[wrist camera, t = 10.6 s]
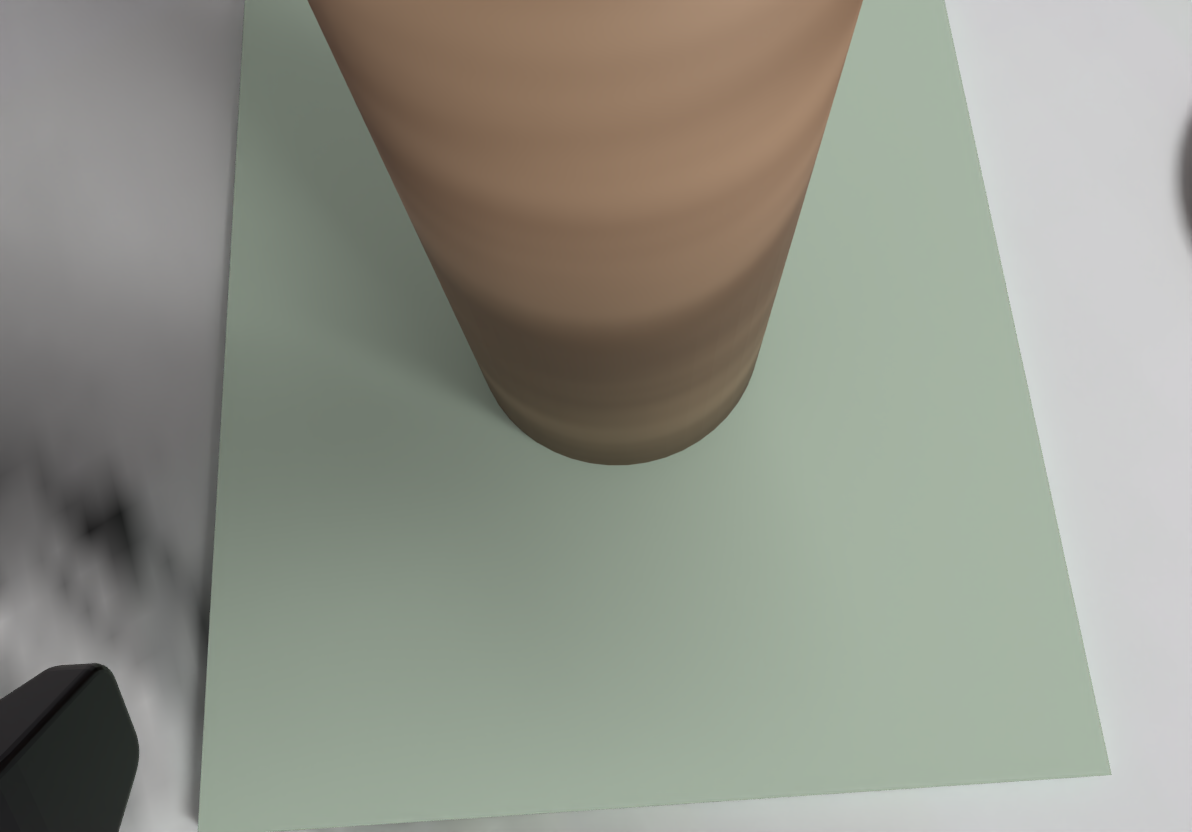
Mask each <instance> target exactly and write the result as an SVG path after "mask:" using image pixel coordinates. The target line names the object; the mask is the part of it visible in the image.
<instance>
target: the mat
mask: <svg viewBox="0 0 1192 832" xmlns="http://www.w3.org/2000/svg"><path fill="white" fill-rule="evenodd" d="M1103 775H1112V774H1111V769H1110V765H1109V760H1108V756H1107V751H1106V746H1105V742H1104V737H1103V732H1102V728H1101V723H1100V719H1099V714H1098V709H1097V705H1096V700H1095V695H1094V691H1093V686H1092V682H1091V677H1090V672H1089V668H1088V663H1087V658H1086V654H1085V649H1084V645H1083V640H1082V635H1081V631H1080V626H1079V621H1078V617H1077V612H1076V607H1075V603H1074V598H1073V594H1072V589H1071V584H1070V580H1069V575H1068V570H1067V566H1066V561H1065V557H1064V552H1063V547H1062V543H1061V538H1060V533H1059V529H1058V524H1057V520H1056V515H1055V510H1054V506H1053V501H1052V496H1051V492H1050V487H1049V482H1048V478H1047V473H1046V469H1045V464H1044V459H1043V455H1042V450H1041V445H1040V441H1039V436H1038V432H1037V427H1036V422H1035V418H1034V413H1033V408H1032V404H1031V399H1030V395H1029V390H1028V385H1027V381H1026V376H1025V371H1024V367H1023V362H1022V358H1021V353H1020V348H1019V344H1018V339H1017V334H1016V330H1015V325H1014V320H1013V316H1012V311H1011V307H1010V302H1009V297H1008V293H1007V288H1006V283H1005V279H1004V274H1003V270H1002V265H1001V260H1000V256H999V251H998V246H997V242H996V237H995V233H994V228H993V223H992V219H991V214H990V209H989V205H988V200H987V196H986V191H985V186H984V182H983V177H982V172H981V168H980V163H979V158H978V154H977V149H976V145H975V140H974V135H973V131H972V126H971V121H970V117H969V112H968V108H967V103H966V98H965V94H964V89H963V84H962V80H961V75H960V71H959V66H958V61H957V57H956V52H955V47H954V43H953V38H952V33H951V29H950V24H949V20H948V15H947V10H946V6H945V1H944V0H863V2H862V6H861V9H860V12H859V16H858V19H857V23H856V26H855V29H854V33H853V36H852V39H851V43H850V46H849V50H848V53H847V56H846V60H845V63H844V67H843V70H842V73H841V77H840V80H839V84H838V87H837V90H836V94H835V97H834V100H833V104H832V107H831V111H830V114H829V117H828V121H827V124H826V128H825V131H824V134H823V138H822V141H821V144H820V148H819V151H818V155H817V158H816V161H815V165H814V168H813V172H812V175H811V178H810V182H809V185H808V188H807V192H806V195H805V199H804V202H803V205H802V209H801V212H800V216H799V219H798V222H797V226H796V229H795V233H794V236H793V239H792V243H791V246H790V249H789V253H788V256H787V260H786V263H785V266H784V270H783V273H782V277H781V280H780V283H779V287H778V290H777V293H776V297H775V300H774V304H773V307H772V310H771V314H770V317H769V321H768V324H767V327H766V331H765V334H764V337H763V341H762V344H761V348H760V351H759V354H758V358H757V361H756V365H755V368H754V371H753V374H752V376H751V379H750V381H749V384H748V386H747V388H746V390H745V392H744V393H743V395H742V397H741V399H740V400H739V402H738V403H737V405H736V406H735V407H734V409H733V410H732V411H731V413H730V414H729V415H728V417H727V418H726V419H725V420H724V421H723V422H722V423H721V424H720V425H719V426H718V427H717V428H716V429H715V430H713V431H712V432H711V433H709V434H708V435H707V436H705V437H704V438H703V439H701V440H700V441H699V442H697V443H695V444H693V445H692V446H690V447H688V448H686V449H685V450H683V451H680V452H678V453H675V454H673V455H671V456H668V457H666V458H662V459H658V460H655V461H651V462H647V463H640V464H633V465H601V464H593V463H587V462H583V461H579V460H575V459H571V458H569V457H566V456H563V455H561V454H558V453H556V452H553V451H552V450H550V449H548V448H546V447H544V446H543V445H541V444H539V443H537V442H536V441H534V440H533V439H532V438H530V437H529V436H528V435H526V434H525V433H524V432H522V431H521V430H520V429H519V428H518V427H517V426H516V425H515V424H514V423H513V422H512V421H511V420H510V419H509V417H508V416H507V415H506V414H505V412H504V411H503V410H502V408H501V407H500V406H499V404H498V403H497V401H496V399H495V397H494V396H493V394H492V392H491V390H490V388H489V386H488V384H487V382H486V380H485V378H484V376H483V374H482V371H481V369H480V367H479V365H478V363H477V361H476V359H475V357H474V354H473V352H472V350H471V348H470V346H469V344H468V342H467V339H466V337H465V335H464V333H463V331H462V329H461V327H460V325H459V322H458V320H457V318H456V316H455V314H454V312H453V310H452V307H451V305H450V303H449V301H448V299H447V297H446V295H445V293H444V290H443V288H442V286H441V284H440V282H439V280H438V278H437V275H436V273H435V271H434V269H433V267H432V265H431V263H430V261H429V258H428V256H427V254H426V252H425V250H424V248H423V246H422V244H421V241H420V239H419V237H418V235H417V233H416V231H415V229H414V226H413V224H412V222H411V220H410V218H409V216H408V214H407V212H406V209H405V207H404V205H403V203H402V201H401V199H400V197H399V194H398V192H397V190H396V188H395V186H394V184H393V182H392V180H391V177H390V175H389V173H388V171H387V169H386V167H385V165H384V163H383V160H382V158H381V156H380V154H379V152H378V150H377V148H376V145H375V143H374V141H373V139H372V137H371V135H370V133H369V131H368V128H367V126H366V124H365V122H364V120H363V118H362V116H361V113H360V111H359V109H358V107H357V105H356V103H355V101H354V99H353V96H352V94H351V92H350V90H349V88H348V86H347V84H346V82H345V79H344V77H343V75H342V73H341V71H340V69H339V67H338V64H337V62H336V60H335V58H334V56H333V54H332V52H331V50H330V47H329V45H328V43H327V41H326V39H325V37H324V35H323V32H322V30H321V28H320V26H319V24H318V22H317V20H316V18H315V15H314V13H313V11H312V9H311V7H310V5H309V3H308V1H307V0H245V5H244V23H243V40H242V58H241V75H240V93H239V111H238V128H237V146H236V164H235V181H234V199H233V217H232V234H231V252H230V270H229V287H228V305H227V323H226V340H225V358H224V376H223V393H222V411H221V429H220V446H219V464H218V482H217V499H216V517H215V535H214V552H213V570H212V588H211V605H210V623H209V641H208V658H207V676H206V693H205V711H204V729H203V746H202V764H201V782H200V799H199V817H198V832H275V831H290V830H305V829H319V828H334V827H349V826H364V825H379V824H393V823H408V822H423V821H438V820H453V819H467V818H482V817H497V816H512V815H526V814H541V813H556V812H571V811H586V810H600V809H615V808H630V807H645V806H659V805H674V804H689V803H704V802H719V801H733V800H748V799H763V798H778V797H793V796H807V795H822V794H837V793H852V792H866V791H881V790H896V789H911V788H926V787H940V786H955V785H970V784H985V783H1000V782H1014V781H1029V780H1044V779H1059V778H1073V777H1088V776H1103Z"/></svg>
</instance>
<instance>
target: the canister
mask: <svg viewBox="0 0 1192 832" xmlns="http://www.w3.org/2000/svg"><path fill="white" fill-rule="evenodd" d="M307 1H308V3H309V5H310V7H311V9H312V11H313V13H314V15H315V18H316V20H317V22H318V24H319V26H320V28H321V30H322V32H323V35H324V37H325V39H326V41H327V43H328V45H329V47H330V50H331V52H332V54H333V56H334V58H335V60H336V62H337V64H338V67H339V69H340V71H341V73H342V75H343V77H344V79H345V82H346V84H347V86H348V88H349V90H350V92H351V94H352V96H353V99H354V101H355V103H356V105H357V107H358V109H359V111H360V113H361V116H362V118H363V120H364V122H365V124H366V126H367V128H368V131H369V133H370V135H371V137H372V139H373V141H374V143H375V145H376V148H377V150H378V152H379V154H380V156H381V158H382V160H383V163H384V165H385V167H386V169H387V171H388V173H389V175H390V177H391V180H392V182H393V184H394V186H395V188H396V190H397V192H398V194H399V197H400V199H401V201H402V203H403V205H404V207H405V209H406V212H407V214H408V216H409V218H410V220H411V222H412V224H413V226H414V229H415V231H416V233H417V235H418V237H419V239H420V241H421V244H422V246H423V248H424V250H425V252H426V254H427V256H428V258H429V261H430V263H431V265H432V267H433V269H434V271H435V273H436V275H437V278H438V280H439V282H440V284H441V286H442V288H443V290H444V293H445V295H446V297H447V299H448V301H449V303H450V305H451V307H452V310H453V312H454V314H455V316H456V318H457V320H458V322H459V325H460V327H461V329H462V331H463V333H464V335H465V337H466V339H467V342H468V344H469V346H470V348H471V350H472V352H473V354H474V357H475V359H476V361H477V363H478V365H479V367H480V369H481V371H482V374H483V376H484V378H485V380H486V382H487V384H488V386H489V388H490V390H491V392H492V394H493V396H494V397H495V399H496V401H497V403H498V404H499V406H500V407H501V408H502V410H503V411H504V412H505V414H506V415H507V416H508V417H509V419H510V420H511V421H512V422H513V423H514V424H515V425H516V426H517V427H518V428H519V429H520V430H521V431H522V432H524V433H525V434H526V435H528V436H529V437H530V438H532V439H533V440H534V441H536V442H537V443H539V444H541V445H543V446H544V447H546V448H548V449H550V450H552V451H553V452H556V453H558V454H561V455H563V456H566V457H569V458H571V459H575V460H579V461H583V462H587V463H593V464H601V465H633V464H640V463H647V462H651V461H655V460H658V459H662V458H666V457H668V456H671V455H673V454H675V453H678V452H680V451H683V450H685V449H686V448H688V447H690V446H692V445H693V444H695V443H697V442H699V441H700V440H701V439H703V438H704V437H705V436H707V435H708V434H709V433H711V432H712V431H713V430H715V429H716V428H717V427H718V426H719V425H720V424H721V423H722V422H723V421H724V420H725V419H726V418H727V417H728V415H729V414H730V413H731V411H732V410H733V409H734V407H735V406H736V405H737V403H738V402H739V400H740V399H741V397H742V395H743V393H744V392H745V390H746V388H747V386H748V384H749V381H750V379H751V376H752V374H753V371H754V368H755V365H756V361H757V358H758V354H759V351H760V348H761V344H762V341H763V337H764V334H765V331H766V327H767V324H768V321H769V317H770V314H771V310H772V307H773V304H774V300H775V297H776V293H777V290H778V287H779V283H780V280H781V277H782V273H783V270H784V266H785V263H786V260H787V256H788V253H789V249H790V246H791V243H792V239H793V236H794V233H795V229H796V226H797V222H798V219H799V216H800V212H801V209H802V205H803V202H804V199H805V195H806V192H807V188H808V185H809V182H810V178H811V175H812V172H813V168H814V165H815V161H816V158H817V155H818V151H819V148H820V144H821V141H822V138H823V134H824V131H825V128H826V124H827V121H828V117H829V114H830V111H831V107H832V104H833V100H834V97H835V94H836V90H837V87H838V84H839V80H840V77H841V73H842V70H843V67H844V63H845V60H846V56H847V53H848V50H849V46H850V43H851V39H852V36H853V33H854V29H855V26H856V23H857V19H858V16H859V12H860V9H861V6H862V2H863V0H307Z"/></svg>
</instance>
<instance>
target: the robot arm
mask: <svg viewBox="0 0 1192 832" xmlns="http://www.w3.org/2000/svg"><path fill="white" fill-rule="evenodd" d="M138 760H139V744H138V739H137V735H136V732H135V729H134V727H133V724H132V721H131V719H130V716H129V714H128V711H127V708H126V706H125V703H124V700H123V698H122V695H121V692H120V690H119V687H118V685H117V682H116V679H115V677H114V675H113V673H112V672H111V671H110V670H109V669H108V668H107V667H106V666H104V665H101V664H97V663H91V664H75V665H60V666H55V667H51V668H48V669H47V670H45V671H43V672H42V673H40V674H39V675H37V676H36V677H34V678H33V679H31V680H29V681H28V682H26V683H25V684H23V685H22V686H20V687H19V688H17V689H16V690H14V691H13V692H11V693H10V694H8V695H7V696H5V697H4V698H2V699H1V700H0V832H119V828H120V825H121V822H122V818H123V815H124V812H125V808H126V805H127V802H128V798H129V795H130V791H131V788H132V785H133V781H134V778H135V775H136V771H137V767H138Z"/></svg>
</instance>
